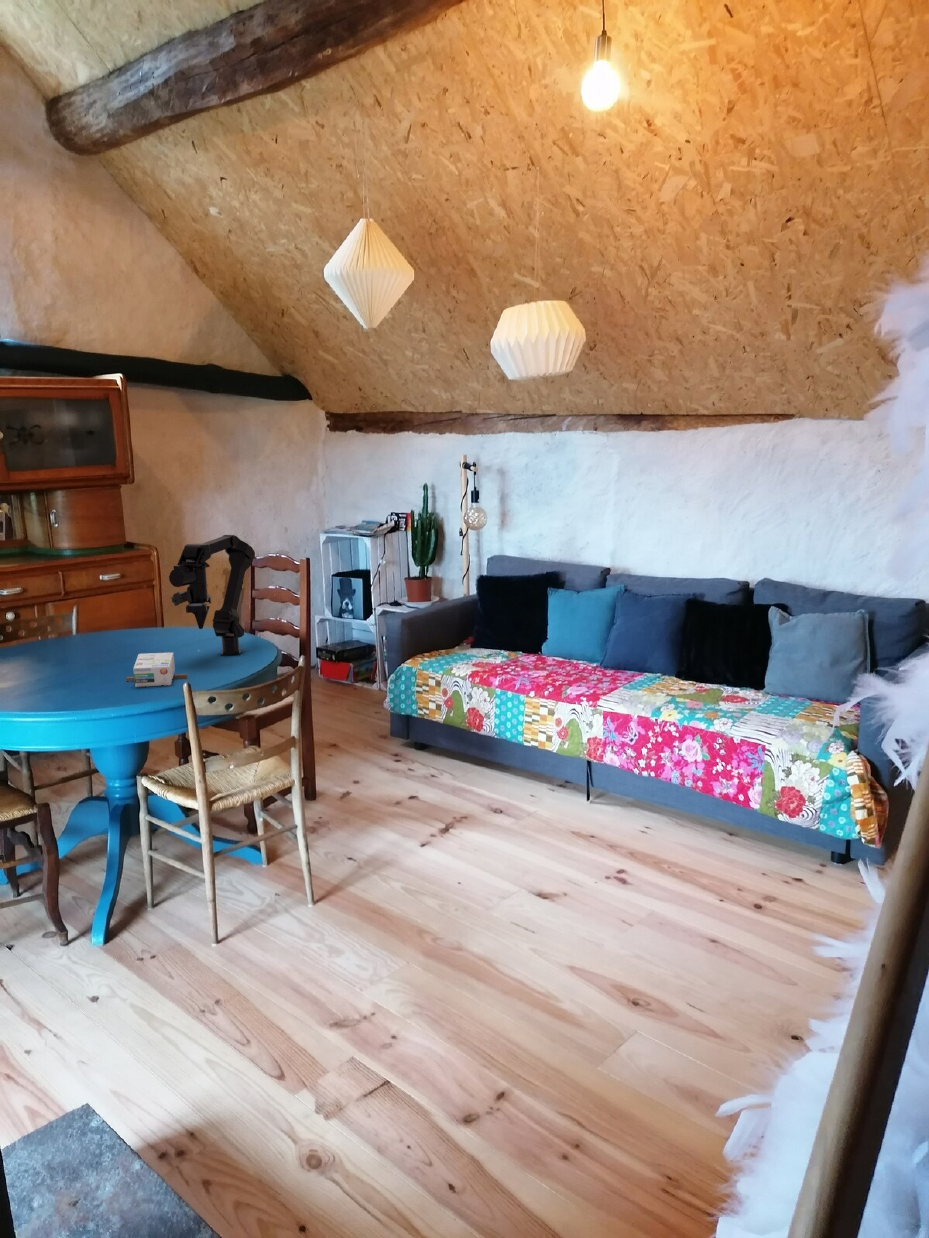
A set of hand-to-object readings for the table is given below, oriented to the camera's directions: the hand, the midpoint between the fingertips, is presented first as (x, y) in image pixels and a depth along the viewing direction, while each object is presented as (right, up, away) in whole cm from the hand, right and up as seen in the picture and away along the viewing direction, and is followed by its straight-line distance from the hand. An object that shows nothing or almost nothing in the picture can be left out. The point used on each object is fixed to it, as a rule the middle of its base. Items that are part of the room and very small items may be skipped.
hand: (200, 628), depth 275 cm
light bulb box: (-9, -10, -15) cm, 20 cm away
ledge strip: (-8, -16, -16) cm, 24 cm away
